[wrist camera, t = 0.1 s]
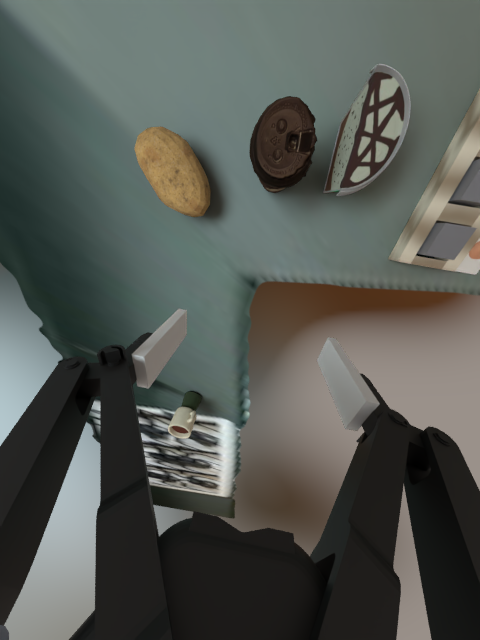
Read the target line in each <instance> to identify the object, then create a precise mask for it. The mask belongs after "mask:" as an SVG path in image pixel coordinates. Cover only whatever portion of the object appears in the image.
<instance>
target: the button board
mask: <svg viewBox="0 0 480 640" xmlns="http://www.w3.org/2000/svg"><path fill="white" fill-rule="evenodd" d="M478 159H480V89H479V91H478V93H477V94H476V96H475V98H474V100H473V102H472V104H471V106H470V107H469V109H468V111H467V113H466V115H465V117H464V119H463V120H462V122H461V124H460V126H459V128H458V130H457V132H456V133H455V135H454V137H453V139H452V141H451V143H450V145H449V147H448V148H447V150H446V152H445V154H444V156H443V158H442V160H441V161H440V163H439V165H438V167H437V169H436V171H435V173H434V174H433V176H432V178H431V180H430V182H429V184H428V186H427V187H426V189H425V191H424V193H423V195H422V197H421V199H420V200H419V202H418V204H417V206H416V208H415V210H414V212H413V213H412V215H411V217H410V219H409V221H408V223H407V225H406V226H405V228H404V230H403V232H402V234H401V236H400V238H399V239H398V241H397V243H396V245H395V247H394V249H393V251H392V252H391V254H390V256H389V258H388V259H389V260H393V261H397V262H403V263H409V264H414V265H420V266H426V267H431V268H437V269H443V270H448V271H454V272H455V271H456V269H457V268H458V266H459V265H460V264H461V262H462V261H463V260H464V258H465V257H466V256H467V254H468V253H469V252H470V250H471V249H472V248H473V246H474V245H475V243H476V242H477V241H478V239H479V238H480V206H478V207H469V206H462V205H456V204H450V203H448V201H449V199H450V198H451V196H452V194H453V193H454V191H455V189H456V188H457V186H458V184H459V183H460V181H461V180H462V178H463V176H464V175H465V173H466V171H467V170H468V168H469V166H470V165H471V163H472V161H475V160H478ZM435 223H449V224H455V225H461V226H467V227H473V228H477V229H476V230H475V232H474V233H473V235H472V236H471V237H470V239H469V240H468V242H467V243H466V244H465V246H464V247H463V249H462V250H461V251H460V253H459V254H458V256H457V257H456V258H455V260H450V259H444V258H439V257H435V258H434V259H431V258H426V257H420V256H416V254H417V252H418V251H419V249H420V247H421V246H422V244H423V242H424V241H425V239H426V237H427V236H428V234H429V232H430V231H431V229H432V227H433V226H434V224H435Z"/></svg>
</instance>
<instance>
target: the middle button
mask: <svg viewBox="0 0 480 640" xmlns="http://www.w3.org/2000/svg"><path fill="white" fill-rule="evenodd" d="M448 203H451V204H457V205H463V206H469V207H478V206H480V159H478V160H475V161H472V163H471V165H470V166H469V168H468V170H467V171H466V173H465V175H464V176H463V178H462V180H461V181H460V183H459V184H458V186H457V188H456V189H455V191H454V193H453V194H452V196H451V198H450V199H449V201H448Z"/></svg>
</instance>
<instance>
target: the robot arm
mask: <svg viewBox="0 0 480 640" xmlns="http://www.w3.org/2000/svg"><path fill="white" fill-rule="evenodd" d="M186 335H187V310H183V309H178V310H177V311H176V312H175V313H174V314H173V315H172V316H171V317H170V318H169V319H168V320H167V321H166V322H164V323H163V324H162V325H161V326H160V327H159V328H158V329H157V330H156V331H155V332H154V333H146V334H143V335H141V336H140V337H139V338H138V339H137V340H136V341H135V342H133V344H131V345H130V346H129V347H128V348H127V349H126V350H125V348H124V347H123V346H121V345H110V346H107V347H105V348H103V349H101V350H100V351H99V352H98V354H97V356H98V359H99V362H100V363H88V362H87V360H86V358H84V357H73V358H69V359H66V360H64V361H62V362H61V363H59V364H58V365H57V366H56V368H55V369H54V371H53V372H52V374H51V375H50V376H49V378H48V379H47V381H46V382H45V384H44V385H43V386H42V388H41V389H40V391H39V392H38V394H37V395H36V396H35V398H34V399H33V401H32V402H31V404H30V405H29V406H28V408H27V409H26V411H25V412H24V413H23V415H22V416H21V418H20V419H19V421H18V422H17V423H16V425H15V426H14V428H13V429H12V431H11V432H10V433H9V435H8V436H7V438H6V439H5V440H4V442H3V443H2V445H1V446H0V640H9V632H8V630H7V629H6V627H5V626H4V624H5V622H6V620H7V618H8V616H9V614H10V612H11V610H12V608H13V606H14V604H15V602H16V600H17V598H18V596H19V594H20V592H21V589H22V587H23V585H24V583H25V580H26V578H27V575H28V573H29V571H30V568H31V566H32V563H33V561H34V558H35V556H36V553H37V550H38V547H39V545H40V542H41V540H42V537H43V534H44V531H45V529H46V526H47V523H48V521H49V518H50V516H51V513H52V510H53V508H54V505H55V502H56V500H57V497H58V494H59V492H60V489H61V487H62V484H63V481H64V479H65V476H66V473H67V470H68V468H69V465H70V463H71V460H72V458H73V455H74V452H75V450H76V447H77V444H78V442H79V439H80V437H81V434H82V431H83V428H84V426H85V423H86V421H87V418H88V415H89V413H90V410H91V407H92V405H93V402H94V400H95V397H96V396H101V501H100V506H99V508H98V511H97V519H96V577H95V578H96V579H95V582H96V583H95V585H96V586H95V610H94V612H93V613H92V614H91V615H90V616H89V617H88V618H87V620H86V621H85V622H84V623H83V624H82V625H81V626H80V628H79V629H78V630H77V631H76V632H75V633H74V634H73V635H72V637H71V638H70V639H69V640H396V636H397V625H398V615H399V604H400V594H401V584H400V580H399V577H398V576H397V575H396V573H395V572H394V569H393V561H394V553H395V545H396V537H397V529H398V523H399V515H400V507H401V499H402V492H403V484H404V486H405V492H406V498H407V503H408V509H409V515H410V520H411V526H412V532H413V537H414V543H415V549H416V554H417V560H418V565H419V571H420V576H421V582H422V588H423V593H424V599H425V605H426V611H427V616H428V622H429V627H430V633H431V638H432V640H480V491H479V489H478V487H477V485H476V482H475V480H474V478H473V476H472V474H471V472H470V470H469V468H468V466H467V464H466V462H465V460H464V457H463V455H462V453H461V451H460V449H459V447H458V446H457V444H456V443H455V442H454V441H453V440H452V439H451V438H450V437H449V436H448V435H447V434H445V433H444V432H442V431H440V430H439V429H437V428H434V427H428V428H426V429H425V430H424V431H423V430H421V429H418V428H416V427H413V426H411V425H410V424H409V422H408V421H407V420H406V419H405V418H404V417H403V416H402V415H401V414H399V413H398V412H396V411H394V410H391V409H390V408H389V407H388V405H387V404H386V403H385V401H384V400H383V398H382V397H381V396H380V394H379V393H378V392H377V390H376V389H375V387H374V386H373V384H372V383H371V381H370V380H369V379H368V378H367V377H366V376H365V375H363V374H360V373H359V372H358V370H357V369H356V367H355V366H354V364H353V363H352V361H351V360H350V359H349V357H348V355H347V354H346V352H345V351H344V349H343V348H342V346H341V345H340V343H339V342H338V340H337V339H335V338H329V337H328V338H327V341H326V342H325V345H324V347H323V349H322V351H321V353H320V355H319V357H318V359H317V361H318V364H319V366H320V369H321V371H322V373H323V376H324V378H325V381H326V383H327V386H328V388H329V391H330V393H331V395H332V398H333V400H334V403H335V405H336V408H337V410H338V412H339V415H340V417H341V420H342V422H343V425H344V427H345V429H349V430H355V431H357V430H358V429H359V428H360V427H361V426H362V427H363V429H364V431H365V432H364V433H363V434H362V435H361V436H360V438H359V439H358V440H357V442H359V444H358V446H357V449H356V451H355V454H354V456H353V459H352V461H351V464H350V466H349V469H348V471H347V474H346V476H345V479H344V481H343V484H342V486H341V489H340V491H339V494H338V496H337V499H336V501H335V504H334V506H333V509H332V511H331V514H330V516H329V519H328V521H327V524H326V526H325V529H324V531H323V534H322V536H321V539H320V541H319V542H318V544H317V546H316V547H315V549H314V550H313V552H312V554H311V556H309V555H308V554H307V553H306V552H305V551H304V550H303V549H302V548H301V547H300V546H299V545H297V544H296V543H295V542H294V536H293V533H289V532H285V531H280V530H275V529H271V528H266V529H260V530H255V531H250V532H240V531H239V530H237V529H236V528H234V527H232V526H231V525H230V524H228V523H227V522H225V521H224V520H222V519H221V518H219V517H217V516H213V515H208V514H203V513H199V512H194V513H193V516H192V518H190V519H185V520H183V521H180V522H178V523H176V524H174V525H173V526H171V527H170V528H169V529H167V530H166V531H165V532H164V533H163V534H162V535H161V536H159V535H158V529H157V524H156V518H155V512H154V507H153V502H152V496H151V490H150V484H149V479H148V473H147V467H146V461H145V455H144V449H143V444H142V438H141V432H140V426H139V420H138V415H137V409H136V403H135V397H134V391H133V386H132V385H133V384H134V383H135V381H137V386H139V387H144V388H149V387H150V386H151V384H152V383H153V382H154V380H155V379H156V377H157V376H158V375H159V373H160V372H161V370H162V369H163V367H164V366H165V365H166V363H167V362H168V360H169V359H170V358H171V356H172V355H173V353H174V352H175V351H176V349H177V348H178V346H179V345H180V343H181V342H182V341H183V339H184V338H185V336H186Z"/></svg>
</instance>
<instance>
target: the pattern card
mask: <svg viewBox="0 0 480 640" xmlns="http://www.w3.org/2000/svg"><path fill="white" fill-rule="evenodd" d="M479 270H480V238H479V239H478V241H477V242H476V243H475V245H474V246H473V248H472V249H471V250H470V252H469V253H468V254H467V256H466V257H465V258H464V260H463V261H462V262H461V264H460V265H459V266H458V268H457V269H456V271H457V272H463V273H469V274H474V275H476V274H477V272H478V271H479Z"/></svg>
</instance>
